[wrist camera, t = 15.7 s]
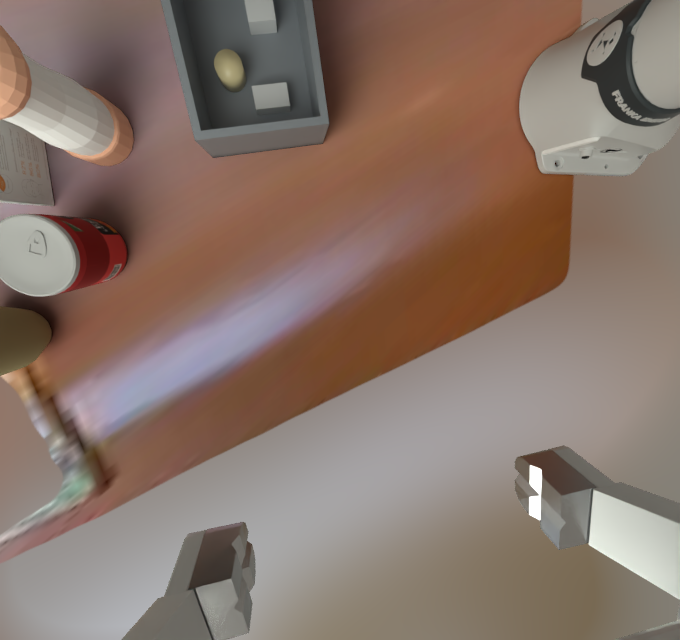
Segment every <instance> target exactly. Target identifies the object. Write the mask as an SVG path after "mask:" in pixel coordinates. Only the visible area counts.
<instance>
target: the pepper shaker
mask: <svg viewBox="0 0 680 640" xmlns="http://www.w3.org/2000/svg"><path fill="white" fill-rule="evenodd" d="M2 119H3V120H5V121H8V122H10V123H13V124H15V125H18V126H20V127H22V128H24V129H25V130H27V131H29V132H30V133H32V134H33V135H35V136H37V137H38V138H40V139H42V140H43V141H45V142H47V143H48V144H50V145H53V146H55V147H58V148H61V149H63V150H65V151H66V152H68V153H69V154H71V155H72V156H74V157H77V158H80V159H83V160H86V161H89V162H91V163H94V164H97V165H100V166H112V165H116V164H119V163H121V162H122V161H123V160H125V159H126V158H127V157H128V155H129V154H130V152H131V150H132V147H133V142H134V138H133V130H132V127H131V125H130V123H129V120H128V119H127V117H126V116H125V115H124V114H123V112H122V111H121V110H120V109H119V108H117V107H116V106H115V105H113V104H112V103H111V102H109V101H108V100H106V99H105V98H104V97H102V96H101V95H99V94H98V93H97V92H95V91H93V90H90V89H88V88H85V87H82V86H81V85H80V84H78V83H77V82H76V81H74V80H73V79H71V78H69V77H67V76H65V75H62V74H60V73H58V72H55V71H53V70H51V69H48V68H46V67H44V66H41V65H40V64H38V63H37V62H35V61H34V60H32V59H31V58H29V57H28V56H26V55H25V54H23V53H22V52H21V50H20V48H19V47H18V46H17V44H16V43H15V42H14V41H13V39H12V38H11V37H10V36H9V35H8V33H7V32H6V31H5V30H4V29H3V27H2V26H0V120H2Z"/></svg>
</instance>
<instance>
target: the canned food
mask: <svg viewBox="0 0 680 640" xmlns="http://www.w3.org/2000/svg"><path fill="white" fill-rule="evenodd" d="M126 261H127V248H126V245H125V242H124V240H123V239H122V237H121V236H120V234H119V233H118V232H117V231H116V230H115V229H114V228H112V227H111V226H109V225H108V224H106V223H104V222H102V221H99V220H96V219H90V218H78V217H66V216H54V215H42V214H18V215H13V216H10V217H7V218H5V219H3V220H2V221H0V279H1V280H2V281H3V282H4V283H5V284H7V285H8V286H10V287H11V288H12V289H14V290H16V291H18V292H20V293H23V294H26V295H30V296H51V295H56V294H60V293H65V292H68V291H72V290H76V289H80V288H84V287H87V286H91V285H95V284H99V283H102V282H106V281H109V280H111V279H113V278H115V277H116V276H117V275H118V274H119V273H120V272H121V271H122V270H123V268H124V266H125V264H126Z"/></svg>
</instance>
